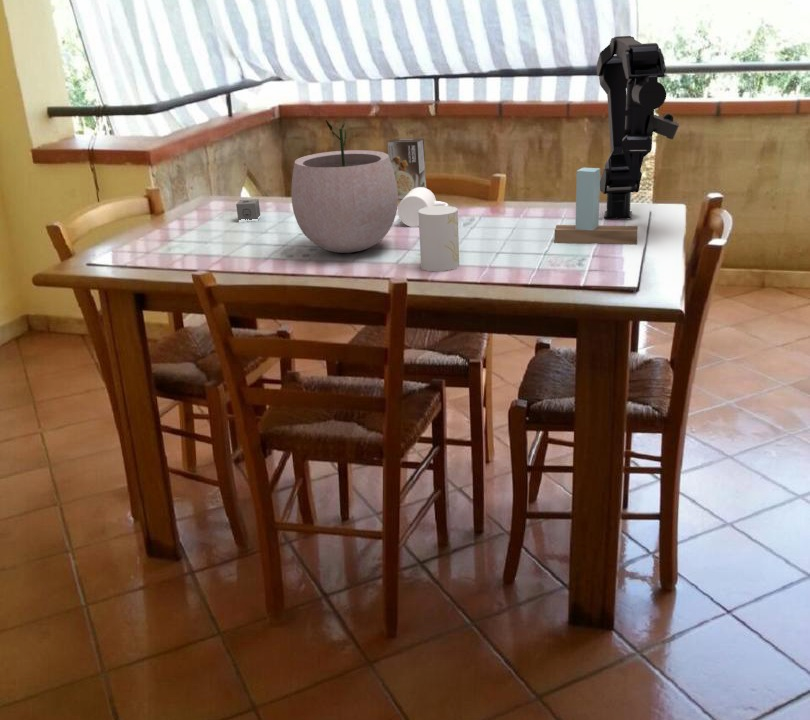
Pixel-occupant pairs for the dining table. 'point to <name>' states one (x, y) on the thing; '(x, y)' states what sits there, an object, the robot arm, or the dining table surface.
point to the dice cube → (248, 209)
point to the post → (587, 198)
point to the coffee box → (407, 164)
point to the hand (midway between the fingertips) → (635, 175)
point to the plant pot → (344, 197)
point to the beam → (596, 234)
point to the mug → (416, 205)
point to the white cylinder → (439, 238)
